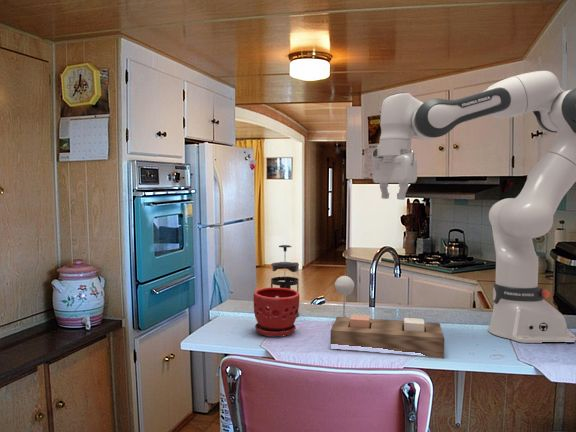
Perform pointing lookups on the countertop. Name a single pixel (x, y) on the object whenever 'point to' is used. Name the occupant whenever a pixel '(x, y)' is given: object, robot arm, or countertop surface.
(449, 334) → the countertop surface
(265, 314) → the plant pot
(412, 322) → the cream key
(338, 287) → the lollipop
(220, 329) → the countertop surface
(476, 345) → the countertop surface
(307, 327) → the countertop surface
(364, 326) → the terracotta key
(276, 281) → the french press
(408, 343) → the brown flat block
